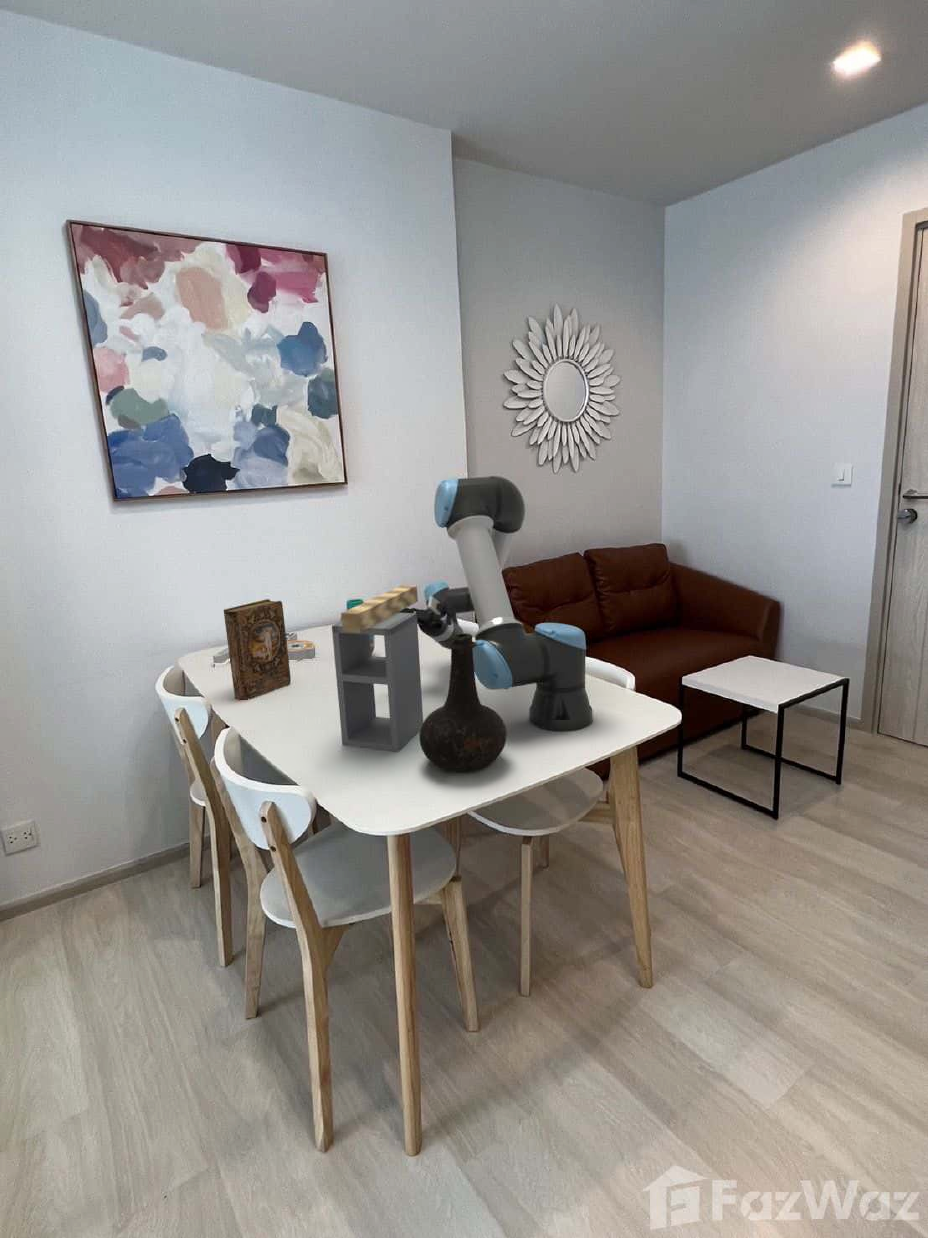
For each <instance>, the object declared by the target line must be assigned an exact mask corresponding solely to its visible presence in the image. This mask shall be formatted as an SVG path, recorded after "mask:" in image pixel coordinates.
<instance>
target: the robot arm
mask: <svg viewBox="0 0 928 1238" xmlns="http://www.w3.org/2000/svg"><path fill="white" fill-rule="evenodd" d="M433 503H434V507H433V508H434V509H433V511H434V512H433V513H434V519H435V524H436V525H437V527H439V528H442V529H444V528H446V532H447V536H448V537H449V539H452V540H454V541H456V542H455V543H456V546H457V549H458V553H459V557H460V558H459V559H460V561H461V565H462V568H463V573H464V576H465V581H466V583H467V584H466V585H467V586H466V587H455V588H450V587H449V585H448V583H447V582H445V581H441V580H440V581H439V580H438V581H434V582H431V583H430V584H428V585H427V586H425V588H424V590H423V591H424V592H423V593H424V598H425V600H424V601H425V604H426V609H419V608H416V607H412V608H409V607H407V608H405V609H403V610H401V611H399V612H397V613H415V614H417V625H418V629H420V631H421V632H422V633H424V634H425V635H427V636H428V637H429V638H431V639H433V640H434V642H435V643H437V644H439V645H440V646H441V647H442V648H444V649H446V650H451V648H449V647H448V643H449V642H451V638H450V637H451V636H452V635H457V634H462V633H465V631H464V629H463V628H462V627H461V626H460V624H459V621H458V617H457V614H458V615H459V614H463V613H471V612H472V613H473V612H474V613H475V618H476V622H477V626H478V629H477V632H476V633H475V635H474V642H475V643H476V644H477V645H476V647H474V648H473V662H474V673H475V677H476V678H477V680H478V681H479V682H480V684H482V686H484V687H485V688H486V689H488V690H490V691H491V690H493V691H495V690H509V689H510V688H516V687H522V686H526V685H527V686H528V685H533V684H535V690H534V694H533V697H532V701H531V705H530V707H529V710H528V711H529V713H528V714H529V717H528V718H529V721H530V723H531V724H533V725H534V726H536V727H538V728H541V729H546V730H549V731H558V730H559V732H560V731H561V732H562V731H563V730H566V732H567V730H568V731H575V730H576V731H577V730H579V729H582V728H585V726H586V727H588V726H589V725H591V724H592V722H593V717H594V716H593V709H592V706H591V704H590V699H589V696H588V693H587V690H586V654H587V653H586V650H587V645H586V644H587V643H586V634H585V632H584V631H583V630H582V629H581V628H579V627H577V626H574V625H570V624H565V623H559V622H543V623H542V622H541V623H539V624H536V625H535V628H534V632H531V633H526V630H525V628H524V623H522V622H520V621H519V620H517V619H515V615H514V612H513V609H512V605H511V602H510V601H511V600H510V599H509V595H508V592H507V588H506V584H505V581H504V577H503V574H502V572H503V569H504V565H505V563H506V560H507V557H508V555H509V552H510V549H511V546H512V544H513V540H514V538H515V534H516V533H518V532H519V531H520V530H521V529H522V527H523V524H524V520H525V517H526V516H525V514H526V507H525V506H526V505H525V500H524V497H523V495H522V492H521V491H520V490H519V488H518V487H517V485H516V484H515V483H513V482H512V481H511V480H509V479H507V478H506V477H502V476H497V475H491V476H482V477H479V476H478V477H461V478H458V477H454V478H448V479H443V480H441V481H440V482H439V483H438V485H437V488H436V491H435V495H434V502H433ZM382 594H383V593H382ZM382 594H379V595H378V596H380V595H382ZM587 725H588V726H587ZM563 732H564V731H563Z"/></svg>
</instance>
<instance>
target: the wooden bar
mask: <svg viewBox="0 0 928 1238" xmlns="http://www.w3.org/2000/svg"><path fill="white" fill-rule="evenodd" d="M379 595H380V594H379ZM379 595H378V596H376V597H374V598H371V599H369V600H367V601H364V603H362V604H360V605H358V606H356V607H353V608H351V609H349V610H347V609H346V610H347V611H342V612H341V614H340V619H341V618H342V629H343V632H355V633H360V632H362V631H364V630H366V629H368V628H370V627H371V626H373V625H375V624H377V623H379V622H381V621H383V620H384V619H386V618H388V617H390V616H392V615H394V614H395V613H397V612H399V611H401V610H403V609H405V608H409V607H411V606H412V605H414V604H416V603H417V602H418V600H419V598H418V586H417V585H413V584H412V585H410V584H409V585H408V584H406V585H405V584H402V585H400V586H398V587H395V588H392V589H391V590H389V591H387V592H385V593H382V595H380V596H379Z"/></svg>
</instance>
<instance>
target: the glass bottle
mask: <svg viewBox="0 0 928 1238" xmlns="http://www.w3.org/2000/svg"><path fill="white" fill-rule="evenodd" d="M450 638H451V642H449V643H448V647H449V648H451V649H450V650H451V651H450V672H449V673H450V674H449V675H450V676H449V686H448V691H447V695H446V700H445V702H444V704H443V706H441V707H438V708H436V709H435V710H434V711H432V712H431V713H429V714H428V715H427V716H426V717H425V719H424V720H423V724H422V727H421V730H420V731H419V743H420V748H421V751H422V752H423V754H424V755H425V757H426V759H427V760H428V761H429V762H430V763H431V764H433V765H434V766H435V767H437V768H439V769H441V770H443V771H446V772H451V773H457V774H459V773H460V774H469V773H477V772H479V771H482V770H484V769H486V768H488V767H489V766H491V765H492V764H493V763H494V762H495V761H496V760H497V759H498V757H500V755H501V753H502V752H503V750H504V748H505V746H506V742H507V735H508V734H507V733H508V732H507V726H506V724H505V722H504V721H503V719H502V717H501V716H500V715H499V714H498V713H497V712H496V711H495V710H494V709H492V708H491V707H488V706H486V705H484V704H482V703H481V701H480V698H479V694H478V689H477V685H476V684H477V683H476V674H475V672H474V662H473V648H474V647H476V645H477V644H476V643H475V641H473V635H472V634H471V633H465V632H464V633H462V634H457V635H452V636H451V637H450Z"/></svg>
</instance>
